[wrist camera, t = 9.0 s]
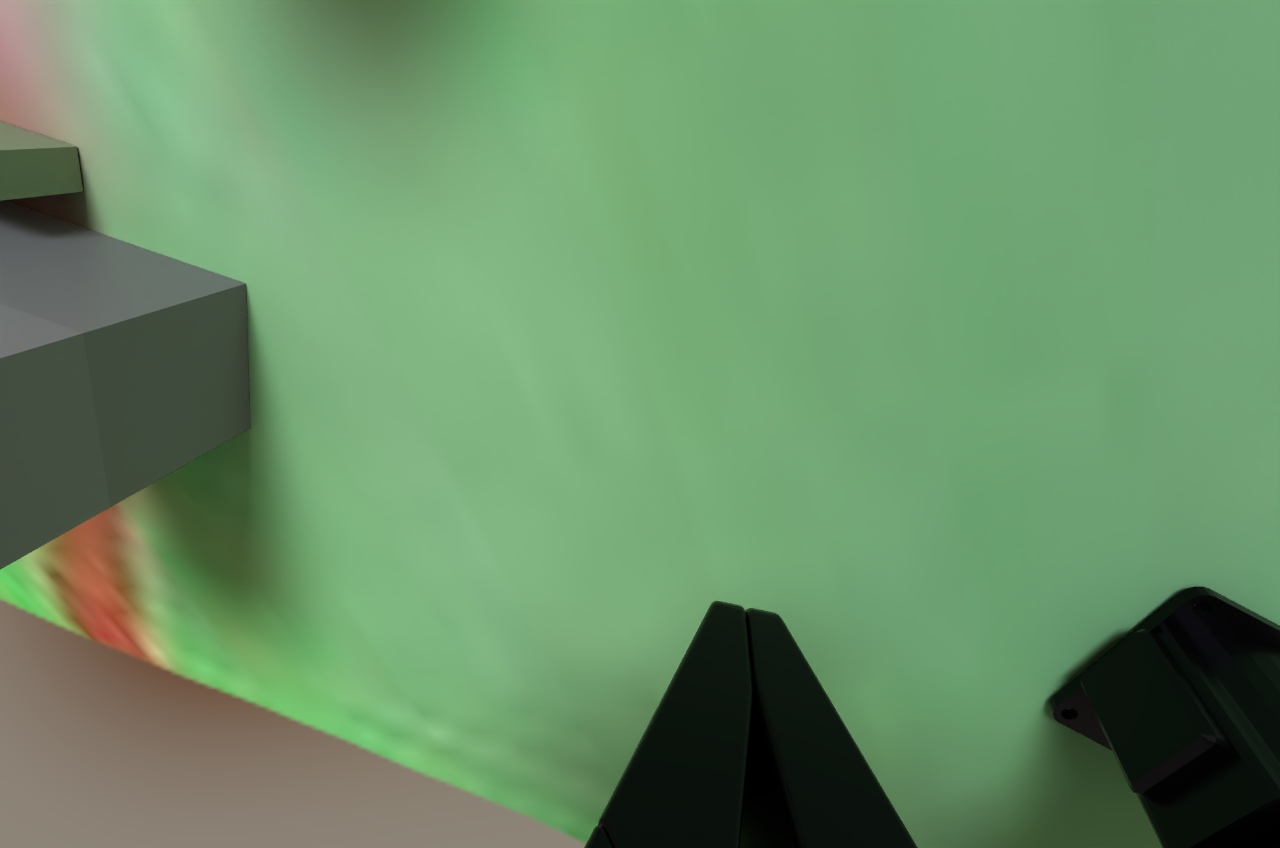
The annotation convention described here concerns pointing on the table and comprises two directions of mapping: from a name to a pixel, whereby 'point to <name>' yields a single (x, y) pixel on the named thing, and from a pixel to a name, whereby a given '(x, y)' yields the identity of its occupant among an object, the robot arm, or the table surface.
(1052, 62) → the table surface
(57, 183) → the mower deck
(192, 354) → the grey block
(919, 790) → the table surface
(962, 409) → the table surface
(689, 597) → the table surface
